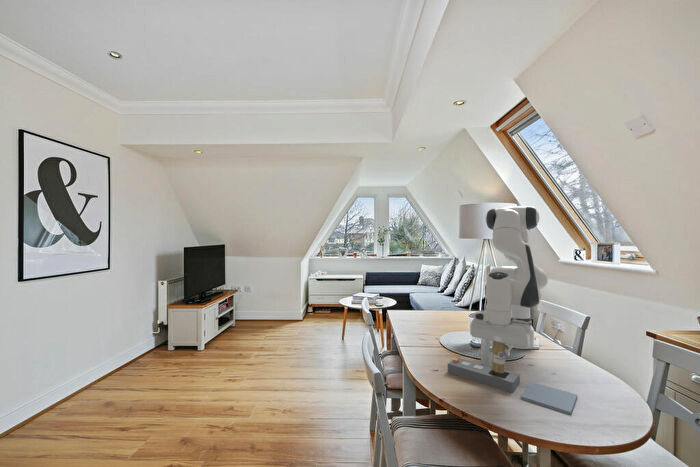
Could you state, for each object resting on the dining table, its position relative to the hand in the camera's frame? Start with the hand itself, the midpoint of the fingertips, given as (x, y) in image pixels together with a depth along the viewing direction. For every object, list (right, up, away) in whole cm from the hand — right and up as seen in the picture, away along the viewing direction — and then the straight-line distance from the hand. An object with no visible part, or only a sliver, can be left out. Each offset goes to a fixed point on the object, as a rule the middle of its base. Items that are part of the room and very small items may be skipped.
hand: (498, 353), depth 117 cm
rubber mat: (+12, -11, -11) cm, 19 cm away
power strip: (-5, -11, +4) cm, 12 cm away
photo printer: (+5, -11, +17) cm, 21 cm away
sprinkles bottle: (0, -7, 0) cm, 7 cm away
